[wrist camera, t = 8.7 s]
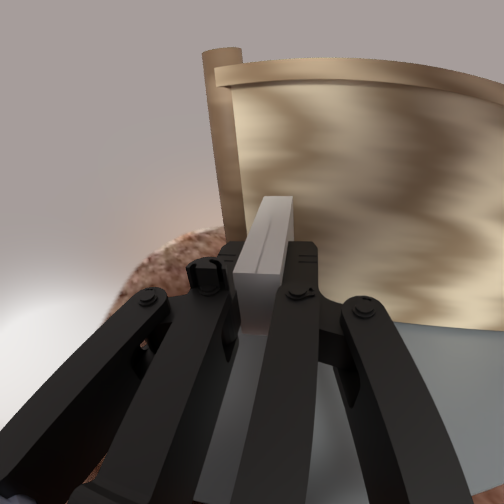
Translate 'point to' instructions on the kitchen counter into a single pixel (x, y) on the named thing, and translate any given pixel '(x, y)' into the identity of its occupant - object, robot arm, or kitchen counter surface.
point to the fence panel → (371, 176)
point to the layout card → (337, 426)
